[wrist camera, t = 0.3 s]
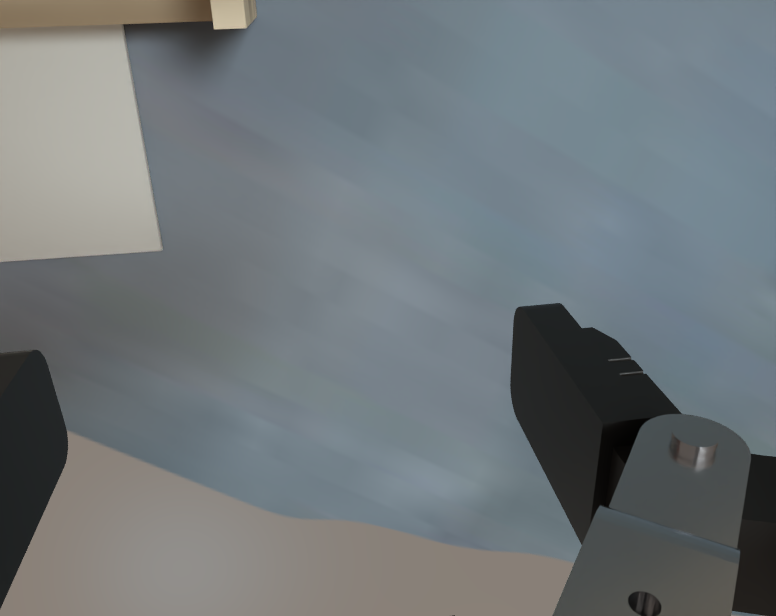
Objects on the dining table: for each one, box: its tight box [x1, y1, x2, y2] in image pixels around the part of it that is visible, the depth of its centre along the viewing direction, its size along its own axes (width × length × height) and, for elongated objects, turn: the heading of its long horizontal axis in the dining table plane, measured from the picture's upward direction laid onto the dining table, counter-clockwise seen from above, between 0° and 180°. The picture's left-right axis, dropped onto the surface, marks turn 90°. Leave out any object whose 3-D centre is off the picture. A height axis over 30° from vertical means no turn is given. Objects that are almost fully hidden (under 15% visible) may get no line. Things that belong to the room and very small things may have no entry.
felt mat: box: [0, 24, 163, 262], centre depth 36 cm, size 12×14×1 cm
